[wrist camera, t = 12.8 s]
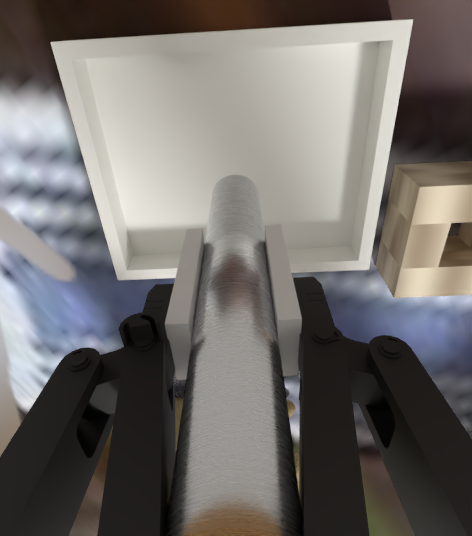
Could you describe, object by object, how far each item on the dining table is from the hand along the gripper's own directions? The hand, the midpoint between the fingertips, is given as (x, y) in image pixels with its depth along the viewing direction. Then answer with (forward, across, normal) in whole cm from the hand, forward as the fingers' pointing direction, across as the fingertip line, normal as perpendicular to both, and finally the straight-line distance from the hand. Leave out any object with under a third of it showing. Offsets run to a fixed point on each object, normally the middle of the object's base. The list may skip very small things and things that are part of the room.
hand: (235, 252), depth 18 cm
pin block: (+15, -18, +6) cm, 24 cm away
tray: (+15, 0, 0) cm, 15 cm away
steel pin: (+7, 0, 0) cm, 7 cm away
